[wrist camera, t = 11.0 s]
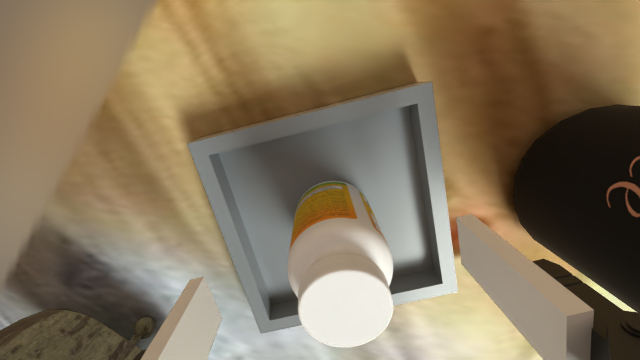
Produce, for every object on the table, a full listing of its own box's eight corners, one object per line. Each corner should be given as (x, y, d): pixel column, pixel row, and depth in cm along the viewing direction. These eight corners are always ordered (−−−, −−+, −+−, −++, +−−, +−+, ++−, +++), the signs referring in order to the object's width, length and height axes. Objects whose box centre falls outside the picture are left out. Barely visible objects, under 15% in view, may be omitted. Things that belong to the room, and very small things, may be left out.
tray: (266, 309, 25) (260, 333, 22) (202, 137, 20) (187, 143, 18) (443, 271, 24) (458, 292, 22) (417, 82, 20) (432, 81, 17)
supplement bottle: (282, 227, 22) (257, 333, 12) (318, 165, 20) (319, 231, 11) (346, 258, 23) (366, 378, 13) (384, 200, 21) (437, 289, 12)
